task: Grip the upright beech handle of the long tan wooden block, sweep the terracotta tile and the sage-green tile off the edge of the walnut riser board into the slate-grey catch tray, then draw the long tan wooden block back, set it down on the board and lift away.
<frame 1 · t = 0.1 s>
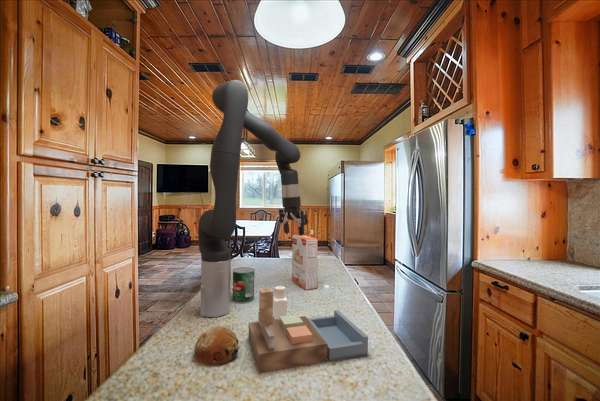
hand: (294, 234, 120), 22 cm above the countertop, tool pointing down, fingers open, 8 cm apart
canned tomato: (243, 300, 106), on the countertop
sage tile: (291, 325, 76), point 4 cm above the countertop, touching riser board
pepper shaker: (279, 318, 90), on the countertop
long tan wooden block: (265, 335, 71), point 4 cm above the countertop, touching riser board
bread roll: (218, 355, 69), on the countertop
riser board: (285, 348, 72), on the countertop
catch tray: (334, 341, 76), on the countertop
terracotta tile: (299, 337, 69), point 4 cm above the countertop, touching riser board
cracker box: (303, 285, 124), on the countertop
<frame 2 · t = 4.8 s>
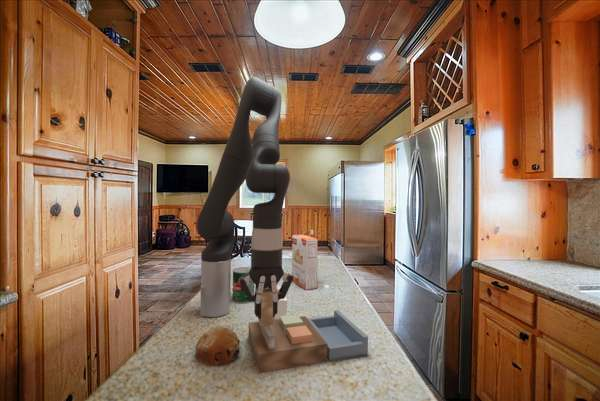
hand: (265, 316, 70), 9 cm above the countertop, tool pointing down, fingers closed on long tan wooden block, 2 cm apart
long tan wooden block: (265, 334, 71), point 4 cm above the countertop, touching gripper, riser board
everything else where it was.
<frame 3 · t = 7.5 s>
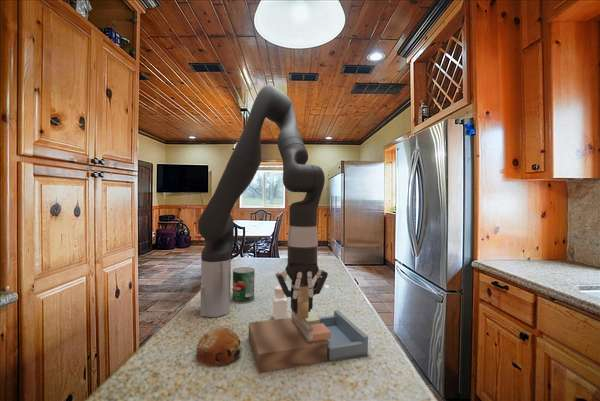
hand: (301, 311, 73), 9 cm above the countertop, tool pointing down, fingers closed on long tan wooden block, 2 cm apart
sage tile: (307, 322, 78), point 4 cm above the countertop
long tan wooden block: (301, 328, 73), point 5 cm above the countertop, touching gripper, terracotta tile
terracotta tile: (317, 335, 71), point 4 cm above the countertop, touching long tan wooden block
everything else where it was.
when the fingers open (9 cm above the countertop, at t = 10.6 s): long tan wooden block drops 1 cm, resting on riser board.
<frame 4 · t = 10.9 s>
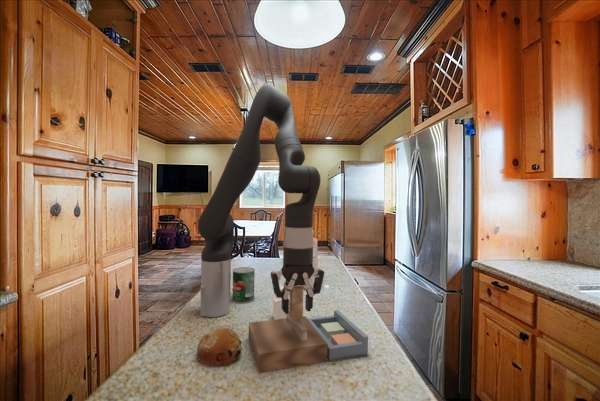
hand: (297, 311, 73), 9 cm above the countertop, tool pointing down, fingers open, 5 cm apart
sage tile: (332, 326, 80), point 2 cm above the countertop, tilted 180°, touching catch tray
long tan wooden block: (295, 329, 74), point 4 cm above the countertop, touching riser board
terracotta tile: (343, 338, 73), point 2 cm above the countertop, tilted 180°, touching catch tray
everything else where it was.
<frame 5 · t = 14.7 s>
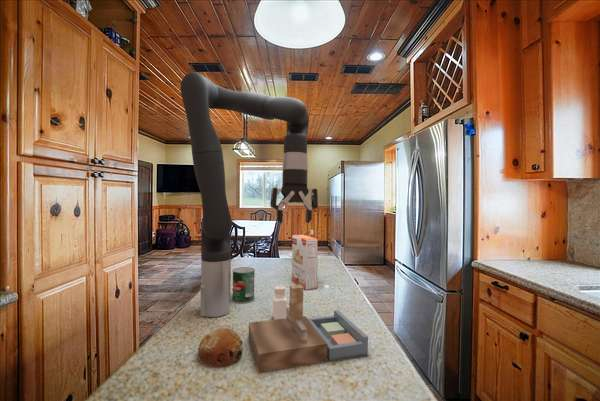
hand: (294, 222, 87), 30 cm above the countertop, tool pointing down, fingers open, 8 cm apart
at the end: terracotta tile inside the target area on the catch tray (3.8 cm from its centre), point 2.2 cm above the catch tray's base; sage tile inside the target area on the catch tray (3.5 cm from its centre), point 2.2 cm above the catch tray's base; long tan wooden block inside the target area (2.7 cm from its centre), point 4.0 cm above the countertop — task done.
